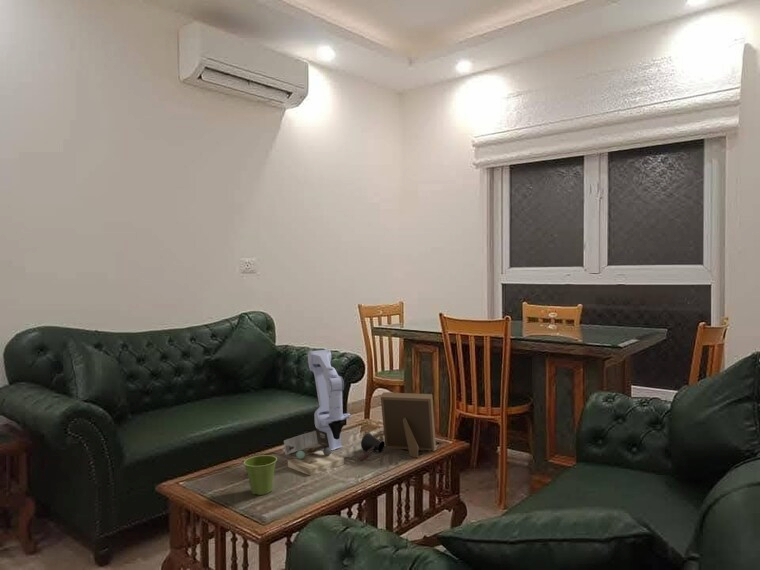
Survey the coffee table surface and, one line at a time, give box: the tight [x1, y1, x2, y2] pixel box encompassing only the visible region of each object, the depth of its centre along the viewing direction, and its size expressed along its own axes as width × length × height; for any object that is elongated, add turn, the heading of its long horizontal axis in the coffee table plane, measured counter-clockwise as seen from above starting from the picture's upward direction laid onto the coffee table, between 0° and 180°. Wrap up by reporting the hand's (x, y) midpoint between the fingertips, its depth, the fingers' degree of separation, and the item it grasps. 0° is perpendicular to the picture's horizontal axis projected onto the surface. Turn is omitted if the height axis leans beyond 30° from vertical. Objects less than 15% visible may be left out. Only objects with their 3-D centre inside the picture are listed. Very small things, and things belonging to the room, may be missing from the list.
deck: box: [287, 450, 345, 477], centre depth 226 cm, size 17×15×2 cm
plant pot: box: [243, 454, 278, 496], centre depth 200 cm, size 12×12×11 cm
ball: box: [323, 447, 332, 456], centre depth 230 cm, size 3×3×3 cm
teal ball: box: [296, 451, 305, 459], centre depth 226 cm, size 3×3×3 cm
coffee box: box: [283, 429, 329, 458], centre depth 232 cm, size 9×6×16 cm
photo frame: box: [380, 391, 437, 458], centre depth 240 cm, size 15×22×25 cm
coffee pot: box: [356, 432, 385, 462], centre depth 239 cm, size 8×18×8 cm
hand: (336, 438), depth 233 cm, fingers closed
